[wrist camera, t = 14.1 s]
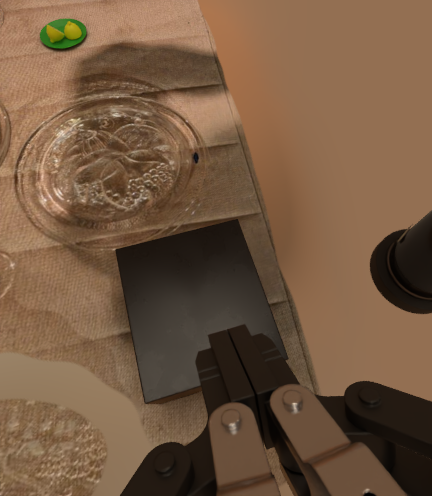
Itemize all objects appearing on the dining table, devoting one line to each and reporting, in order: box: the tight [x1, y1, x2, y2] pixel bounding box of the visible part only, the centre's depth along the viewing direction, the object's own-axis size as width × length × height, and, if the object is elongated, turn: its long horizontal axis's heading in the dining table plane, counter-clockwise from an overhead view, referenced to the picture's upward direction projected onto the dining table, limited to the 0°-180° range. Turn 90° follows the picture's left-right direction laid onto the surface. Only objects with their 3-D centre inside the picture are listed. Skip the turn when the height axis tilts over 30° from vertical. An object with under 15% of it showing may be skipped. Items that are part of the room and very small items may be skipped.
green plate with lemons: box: [40, 19, 86, 48], centre depth 61 cm, size 8×8×3 cm
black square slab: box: [115, 219, 288, 404], centre depth 33 cm, size 15×13×1 cm
